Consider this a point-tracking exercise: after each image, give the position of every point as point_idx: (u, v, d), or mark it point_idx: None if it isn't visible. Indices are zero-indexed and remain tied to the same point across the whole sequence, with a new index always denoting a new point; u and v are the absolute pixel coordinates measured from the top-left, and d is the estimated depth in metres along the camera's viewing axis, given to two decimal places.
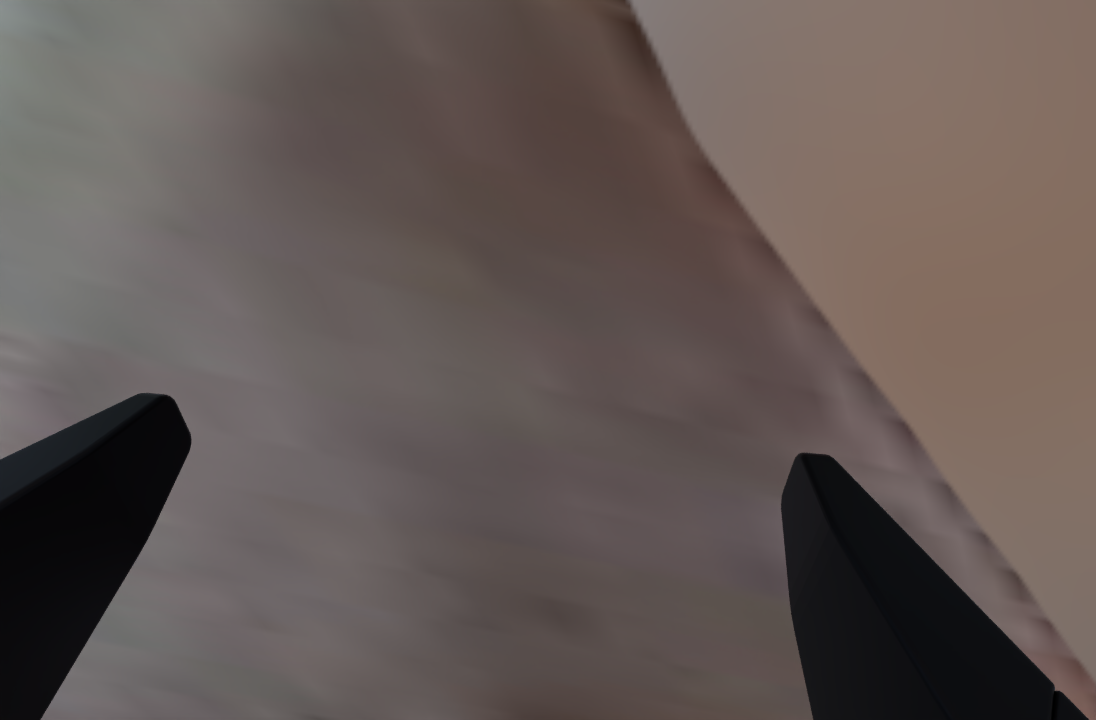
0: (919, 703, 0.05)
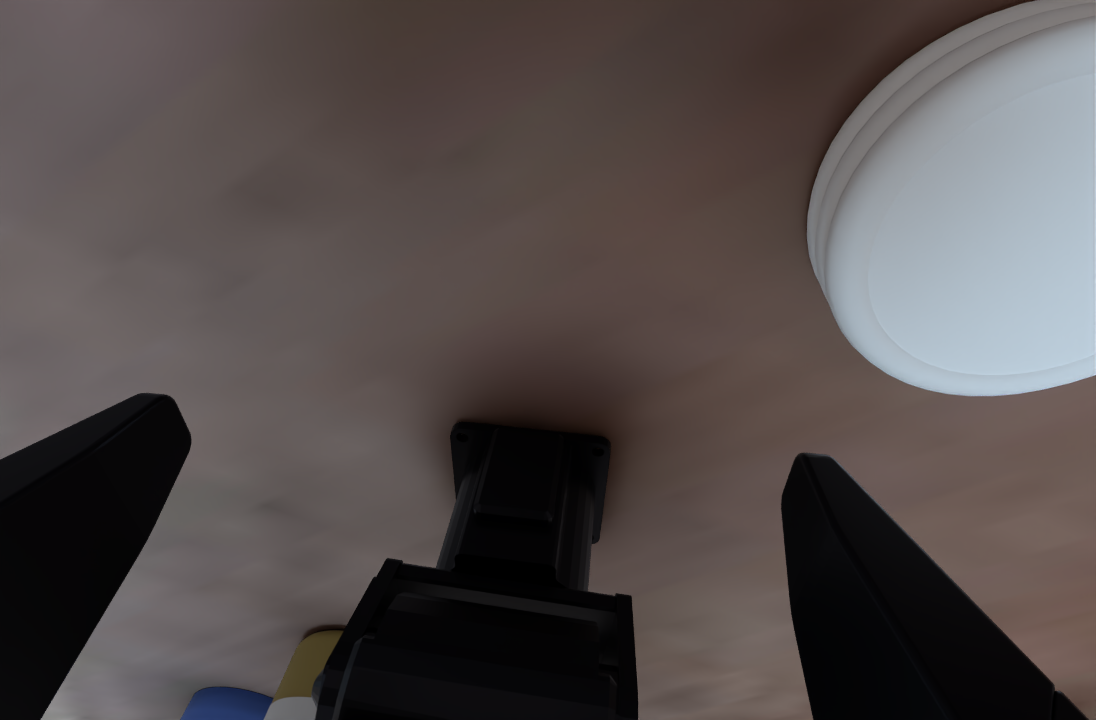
0: (919, 703, 0.05)
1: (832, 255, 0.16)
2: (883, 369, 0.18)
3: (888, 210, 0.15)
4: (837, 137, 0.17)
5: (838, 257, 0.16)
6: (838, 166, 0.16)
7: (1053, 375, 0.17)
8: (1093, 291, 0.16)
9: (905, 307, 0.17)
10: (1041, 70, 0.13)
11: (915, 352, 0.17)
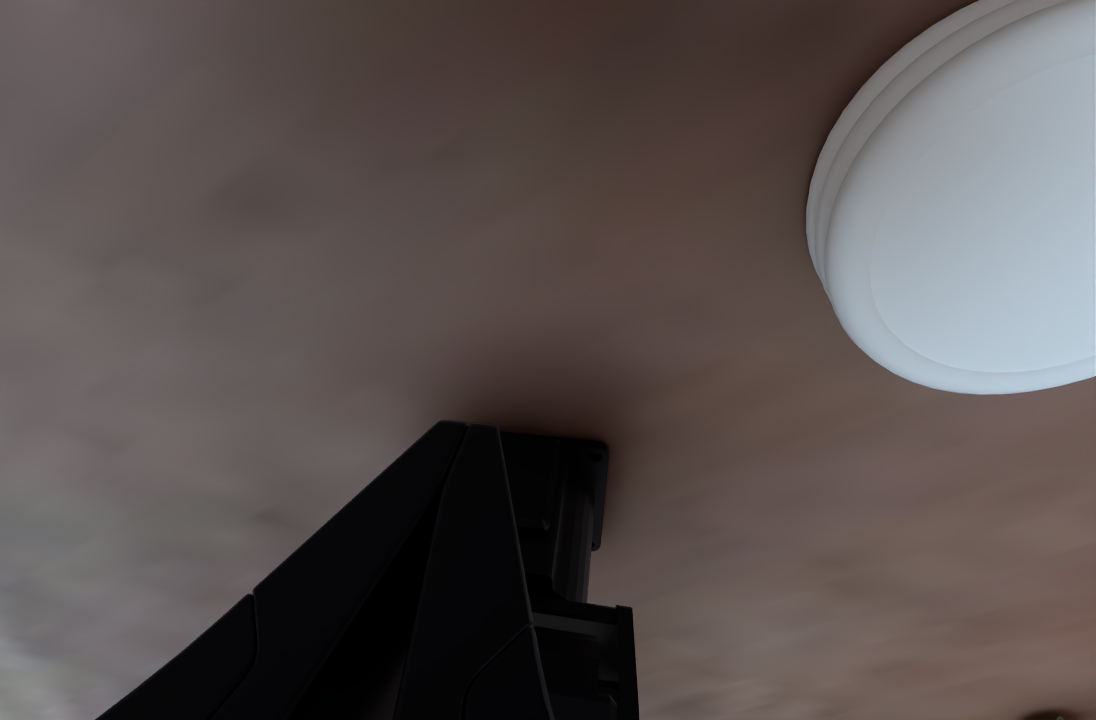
0: None
1: (832, 250, 0.15)
2: (888, 368, 0.17)
3: (890, 201, 0.14)
4: (835, 127, 0.16)
5: (838, 251, 0.15)
6: (836, 157, 0.15)
7: (1067, 371, 0.16)
8: None
9: (909, 303, 0.16)
10: (1049, 49, 0.12)
11: (921, 350, 0.17)
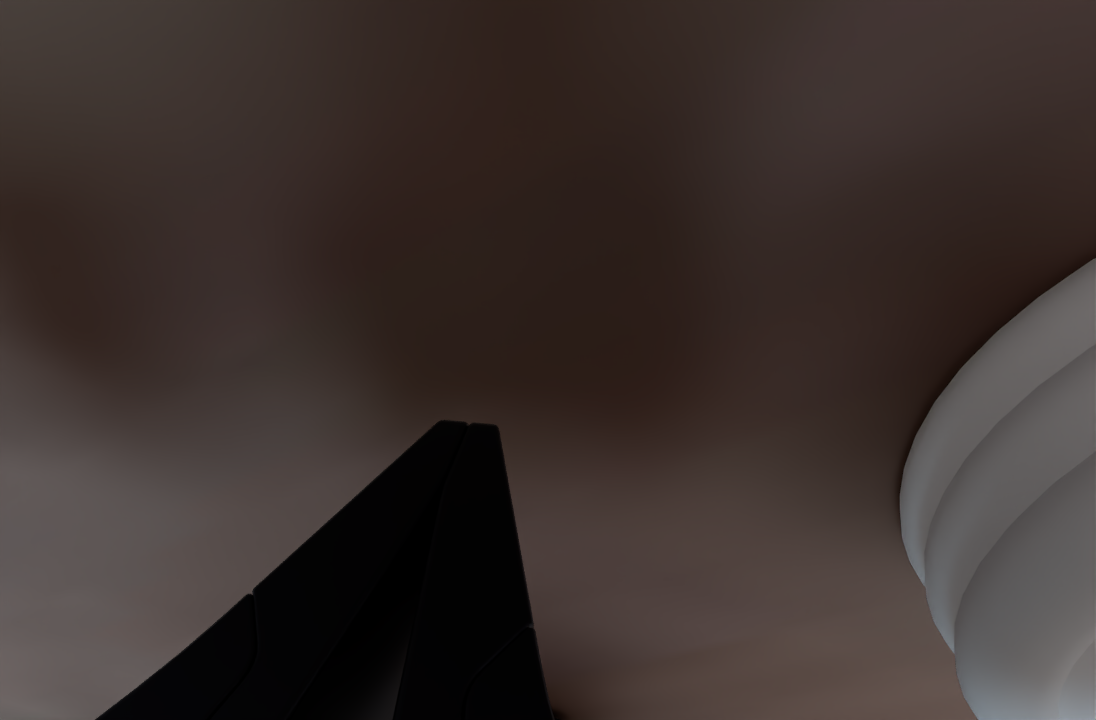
0: None
1: (984, 642, 0.07)
2: None
3: None
4: (980, 367, 0.08)
5: (1001, 652, 0.07)
6: (994, 447, 0.07)
7: None
8: None
9: None
10: None
11: None
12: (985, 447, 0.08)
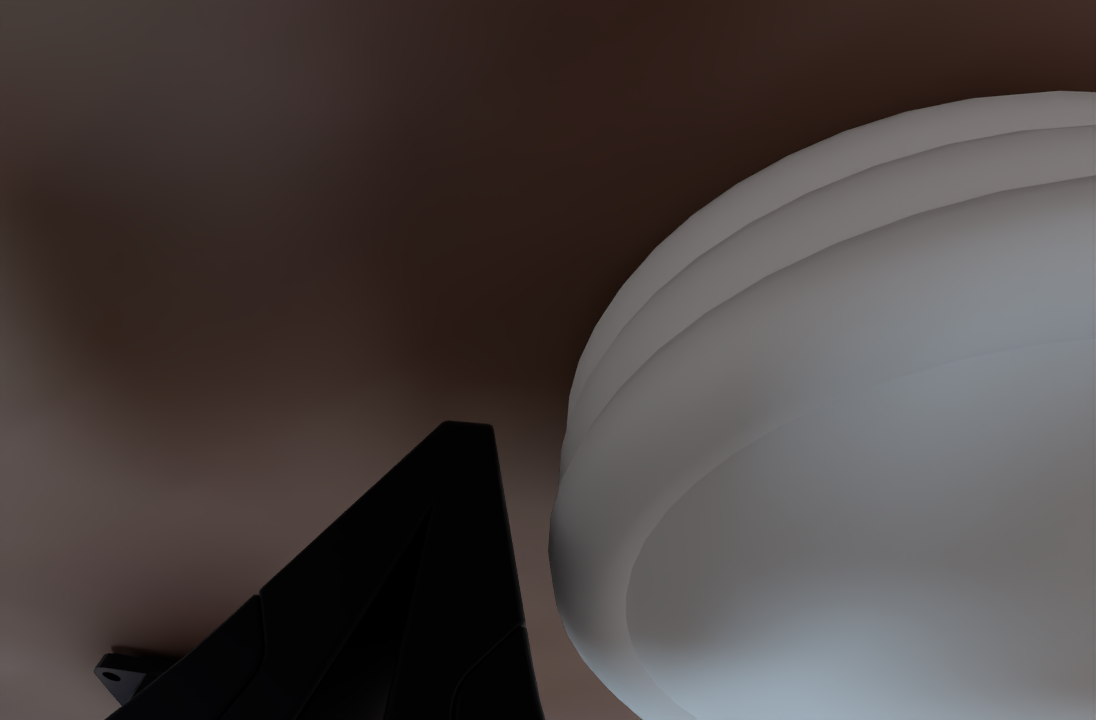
0: None
1: (557, 605, 0.08)
2: None
3: (634, 561, 0.07)
4: (585, 349, 0.09)
5: (565, 614, 0.08)
6: (569, 422, 0.08)
7: None
8: (1095, 701, 0.07)
9: (717, 689, 0.08)
10: (931, 334, 0.05)
11: None
12: None
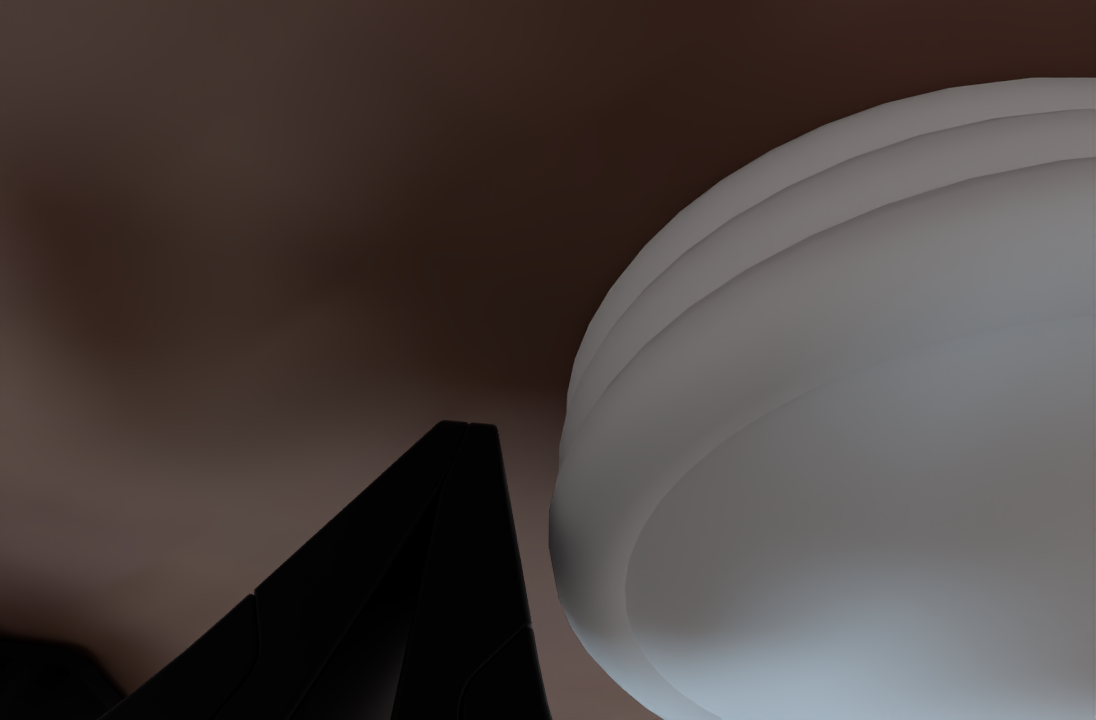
0: None
1: (559, 598, 0.08)
2: None
3: (631, 551, 0.07)
4: (581, 346, 0.09)
5: (567, 607, 0.08)
6: (566, 419, 0.08)
7: None
8: (1095, 680, 0.07)
9: (721, 678, 0.08)
10: (902, 320, 0.05)
11: None
12: None
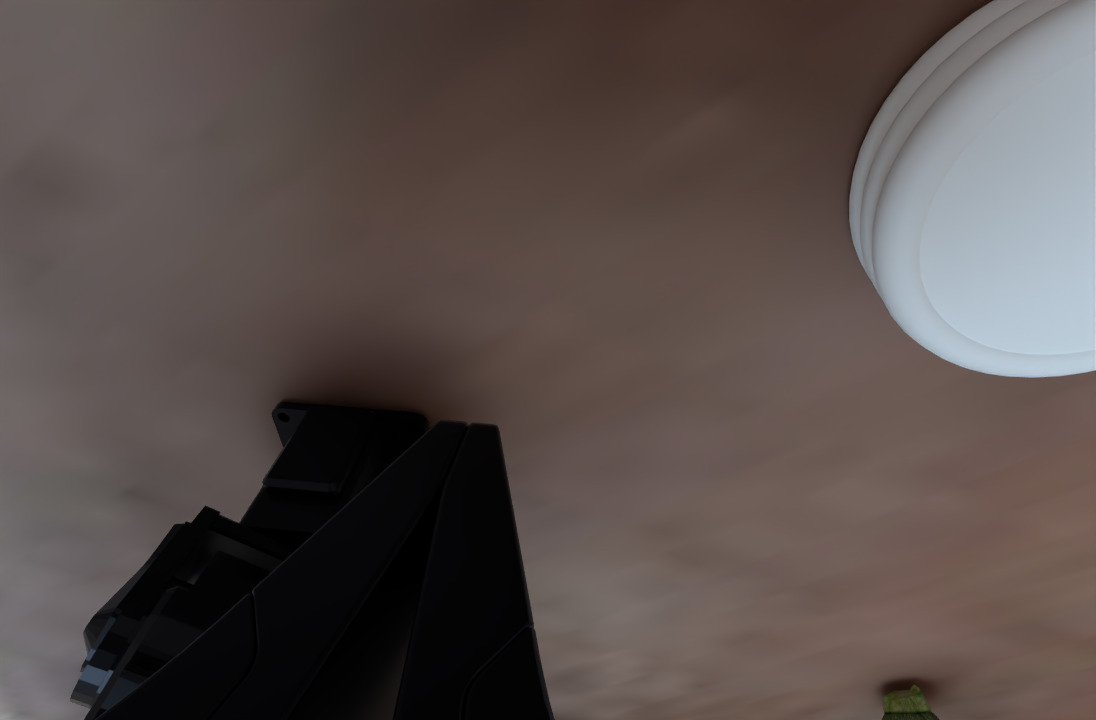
0: None
1: (880, 239, 0.16)
2: (939, 354, 0.17)
3: (938, 188, 0.14)
4: (877, 118, 0.16)
5: (887, 241, 0.15)
6: (881, 147, 0.16)
7: None
8: None
9: (959, 289, 0.16)
10: None
11: (972, 335, 0.17)
12: (878, 151, 0.16)
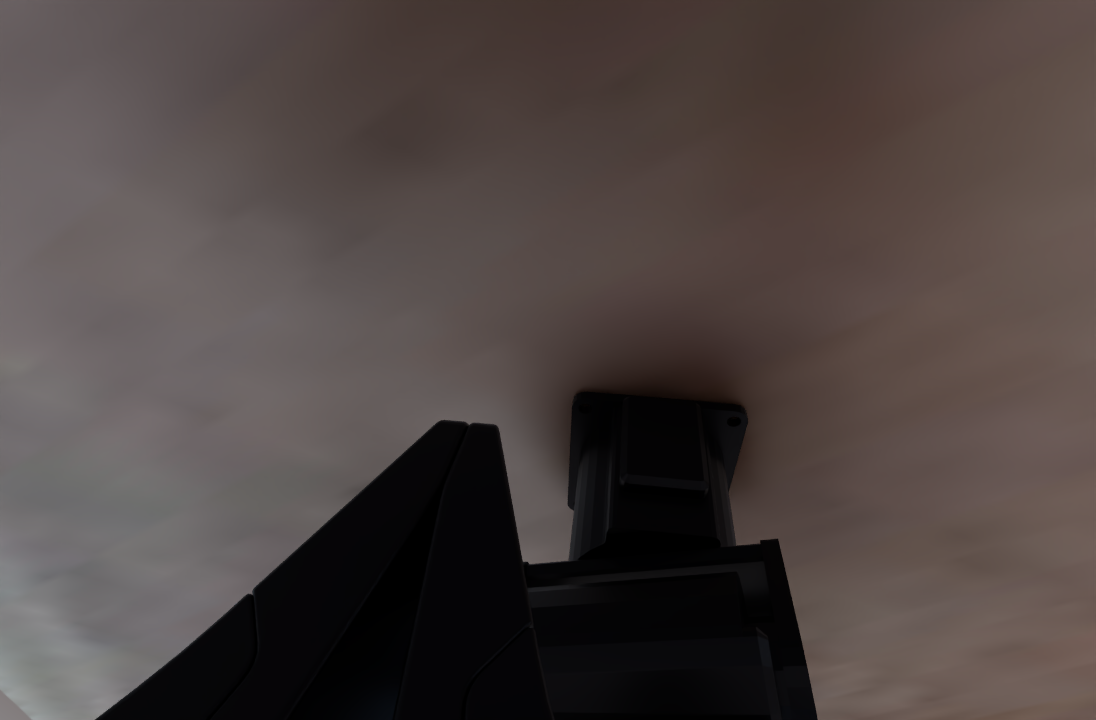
0: None
1: None
2: None
3: None
4: None
5: None
6: None
7: None
8: None
9: None
10: None
11: None
12: None
